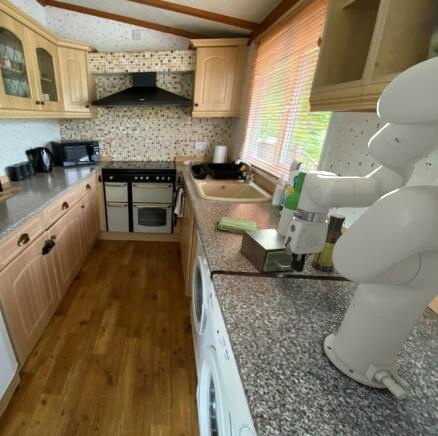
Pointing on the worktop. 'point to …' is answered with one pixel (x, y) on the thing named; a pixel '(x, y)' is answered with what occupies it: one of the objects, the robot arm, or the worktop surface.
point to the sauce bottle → (329, 243)
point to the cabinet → (261, 245)
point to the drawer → (277, 261)
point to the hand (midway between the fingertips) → (296, 269)
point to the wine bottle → (291, 206)
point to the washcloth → (236, 225)
